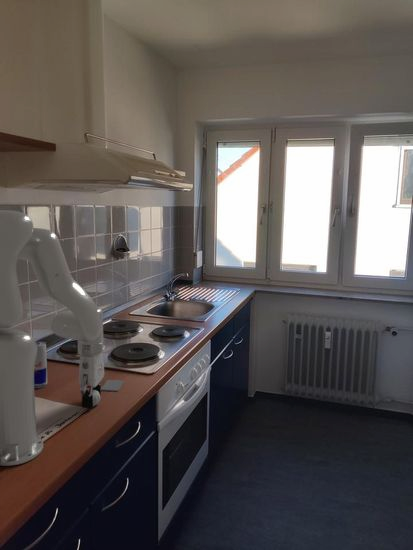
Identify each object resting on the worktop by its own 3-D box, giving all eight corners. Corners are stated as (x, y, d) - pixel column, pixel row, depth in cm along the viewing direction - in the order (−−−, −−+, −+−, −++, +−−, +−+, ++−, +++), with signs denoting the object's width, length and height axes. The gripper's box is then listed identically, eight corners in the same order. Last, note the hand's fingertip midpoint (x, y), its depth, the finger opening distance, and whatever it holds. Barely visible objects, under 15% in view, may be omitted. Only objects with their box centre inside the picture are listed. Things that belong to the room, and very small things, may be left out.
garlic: (86, 399, 137) (85, 384, 136) (102, 400, 137) (102, 385, 136) (79, 408, 131) (79, 392, 130) (97, 409, 131) (97, 393, 130)
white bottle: (29, 385, 146) (27, 343, 144) (43, 381, 150) (42, 340, 147) (35, 390, 142) (33, 347, 140) (50, 385, 146) (48, 343, 144)
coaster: (117, 391, 143) (117, 390, 143) (100, 390, 144) (100, 389, 144) (124, 381, 151) (124, 380, 151) (107, 380, 151) (107, 379, 151)
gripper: (93, 358, 122) (94, 416, 125) (111, 339, 139) (111, 390, 142) (67, 356, 122) (69, 414, 125) (88, 337, 139) (89, 389, 142)
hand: (91, 401), depth 134 cm, fingers open, 6 cm apart
